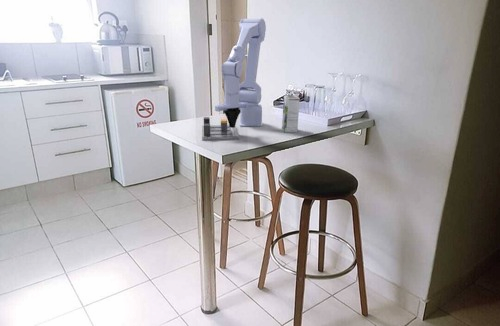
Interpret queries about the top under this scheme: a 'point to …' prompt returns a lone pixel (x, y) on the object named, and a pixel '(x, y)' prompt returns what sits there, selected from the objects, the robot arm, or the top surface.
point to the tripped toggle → (223, 124)
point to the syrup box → (290, 113)
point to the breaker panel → (218, 132)
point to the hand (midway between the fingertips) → (232, 127)
